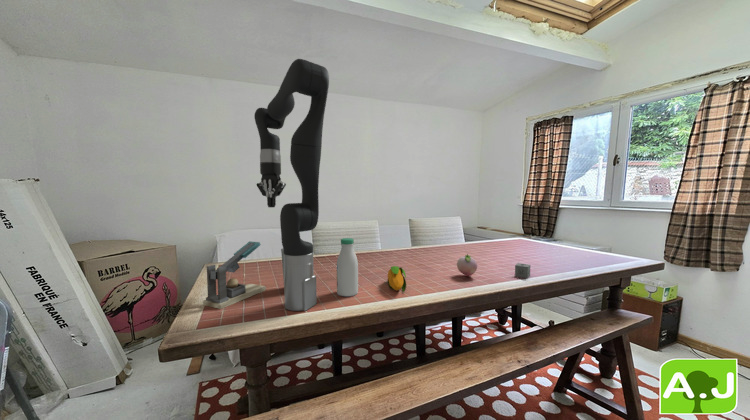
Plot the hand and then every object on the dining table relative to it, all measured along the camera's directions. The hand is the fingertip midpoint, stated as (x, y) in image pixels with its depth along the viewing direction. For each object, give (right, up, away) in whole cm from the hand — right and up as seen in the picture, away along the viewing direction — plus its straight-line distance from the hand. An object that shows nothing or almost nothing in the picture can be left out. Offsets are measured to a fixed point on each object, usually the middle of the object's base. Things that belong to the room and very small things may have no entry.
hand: (271, 207), depth 109 cm
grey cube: (+105, -31, +15) cm, 111 cm away
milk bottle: (+30, -32, -7) cm, 44 cm away
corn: (+49, -31, 0) cm, 58 cm away
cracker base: (-8, -32, -10) cm, 34 cm away
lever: (-8, -24, -11) cm, 27 cm away
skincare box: (+9, -31, -2) cm, 33 cm away
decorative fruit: (+80, -31, +14) cm, 87 cm away
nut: (-9, -28, -12) cm, 32 cm away
